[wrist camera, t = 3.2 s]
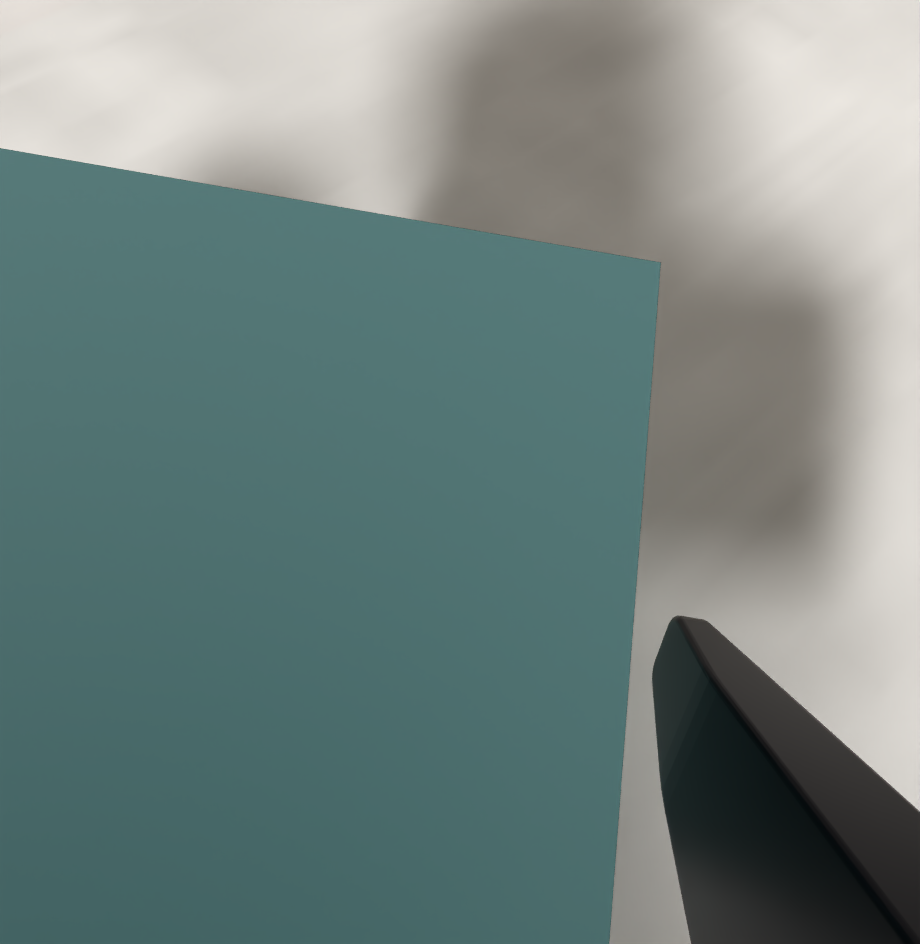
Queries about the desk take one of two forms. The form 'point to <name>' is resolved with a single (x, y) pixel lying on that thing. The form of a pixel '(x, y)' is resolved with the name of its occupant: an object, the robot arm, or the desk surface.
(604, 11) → the desk surface
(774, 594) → the desk surface
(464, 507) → the block
